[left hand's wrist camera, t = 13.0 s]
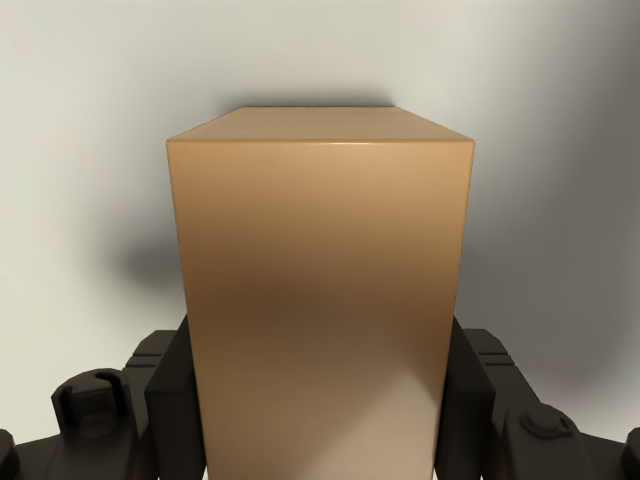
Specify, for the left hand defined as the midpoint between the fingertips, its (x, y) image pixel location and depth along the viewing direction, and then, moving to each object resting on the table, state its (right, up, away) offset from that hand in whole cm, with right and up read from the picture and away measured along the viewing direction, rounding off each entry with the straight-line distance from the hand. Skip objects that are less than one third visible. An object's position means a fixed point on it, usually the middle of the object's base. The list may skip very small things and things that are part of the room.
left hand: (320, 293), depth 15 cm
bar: (0, -21, +10) cm, 23 cm away
